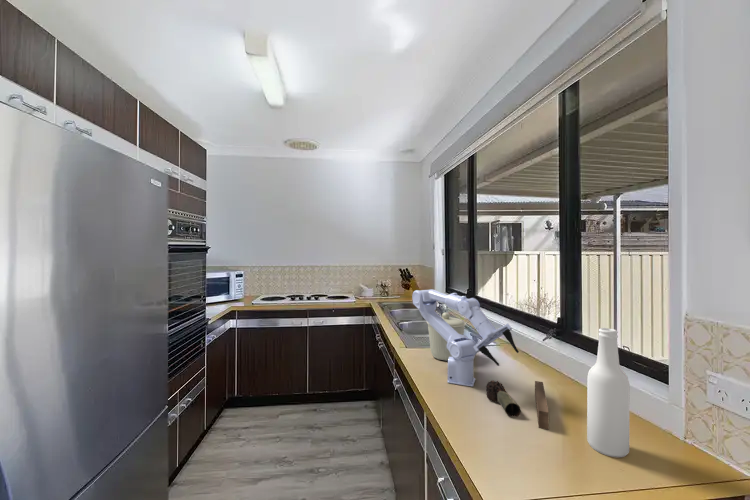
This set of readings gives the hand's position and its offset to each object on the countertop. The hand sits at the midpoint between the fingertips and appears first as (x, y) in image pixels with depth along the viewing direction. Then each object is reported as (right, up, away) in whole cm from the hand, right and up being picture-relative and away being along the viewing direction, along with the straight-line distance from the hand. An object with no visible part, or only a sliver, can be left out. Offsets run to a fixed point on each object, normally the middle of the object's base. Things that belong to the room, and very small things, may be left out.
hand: (508, 358), depth 112 cm
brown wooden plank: (+8, -14, -6) cm, 17 cm away
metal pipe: (-3, -15, -2) cm, 15 cm away
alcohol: (+15, -14, -27) cm, 34 cm away
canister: (-11, -14, +46) cm, 49 cm away
